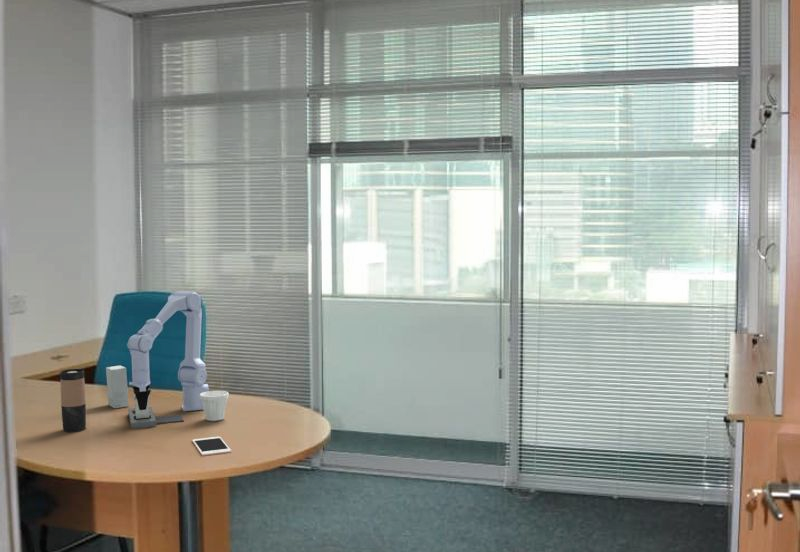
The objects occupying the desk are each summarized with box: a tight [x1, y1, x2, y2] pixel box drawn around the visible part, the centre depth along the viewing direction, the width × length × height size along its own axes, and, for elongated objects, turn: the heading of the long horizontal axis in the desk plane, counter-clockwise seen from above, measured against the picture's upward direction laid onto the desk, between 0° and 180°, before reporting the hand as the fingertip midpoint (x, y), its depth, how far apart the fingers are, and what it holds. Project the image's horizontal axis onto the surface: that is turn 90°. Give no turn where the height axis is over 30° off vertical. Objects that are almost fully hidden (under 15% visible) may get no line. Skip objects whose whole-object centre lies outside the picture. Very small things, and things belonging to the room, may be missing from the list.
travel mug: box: [59, 368, 87, 433], centre depth 278 cm, size 8×8×20 cm
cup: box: [200, 390, 230, 422], centre depth 290 cm, size 10×10×9 cm
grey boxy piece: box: [133, 395, 151, 419], centre depth 286 cm, size 5×5×7 cm
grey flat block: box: [127, 406, 157, 430], centre depth 290 cm, size 8×22×2 cm, turn 21°
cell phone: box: [191, 436, 232, 457], centre depth 257 cm, size 9×18×1 cm, turn 24°
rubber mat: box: [155, 414, 184, 425], centre depth 291 cm, size 9×9×1 cm
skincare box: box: [105, 365, 130, 409], centre depth 313 cm, size 8×6×15 cm
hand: (142, 408), depth 286 cm, fingers closed on grey boxy piece, 5 cm apart
